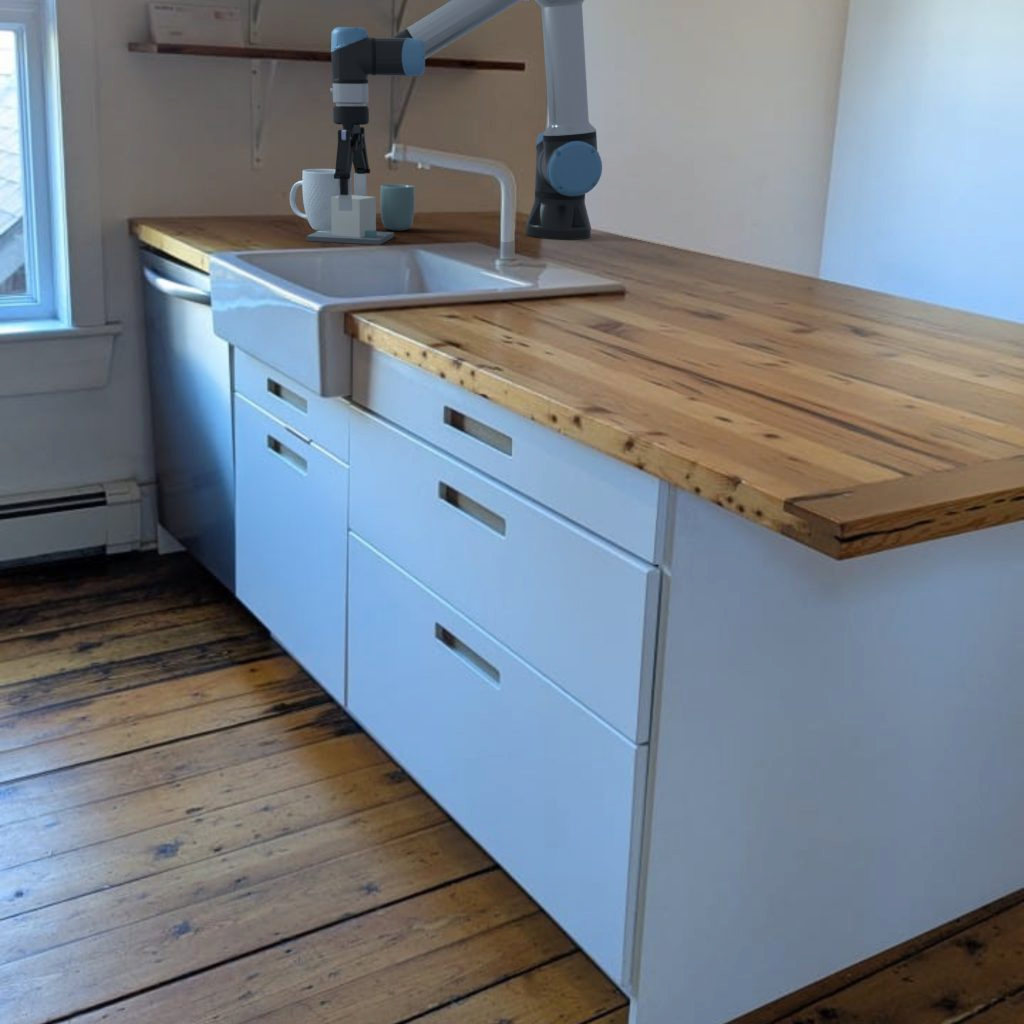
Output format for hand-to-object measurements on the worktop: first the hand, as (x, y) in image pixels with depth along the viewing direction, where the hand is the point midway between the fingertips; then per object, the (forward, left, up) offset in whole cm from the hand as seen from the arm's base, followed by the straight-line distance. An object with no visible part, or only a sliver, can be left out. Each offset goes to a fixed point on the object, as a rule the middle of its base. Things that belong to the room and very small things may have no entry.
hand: (353, 207), depth 285 cm
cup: (-6, -20, -7) cm, 22 cm away
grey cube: (0, +1, -6) cm, 6 cm away
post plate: (0, 0, -7) cm, 7 cm away
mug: (+10, -14, -7) cm, 19 cm away
